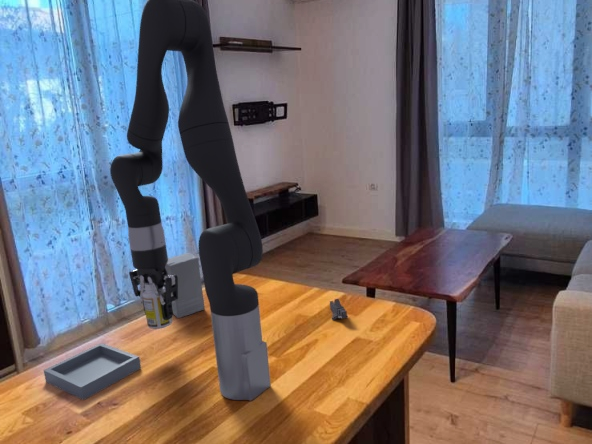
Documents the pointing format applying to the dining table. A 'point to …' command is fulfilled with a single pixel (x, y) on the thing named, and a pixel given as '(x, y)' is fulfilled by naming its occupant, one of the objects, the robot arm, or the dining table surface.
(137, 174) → the robot arm
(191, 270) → the skincare box
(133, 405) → the dining table surface
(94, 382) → the slate tray
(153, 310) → the supplement bottle
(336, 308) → the animal figurine
